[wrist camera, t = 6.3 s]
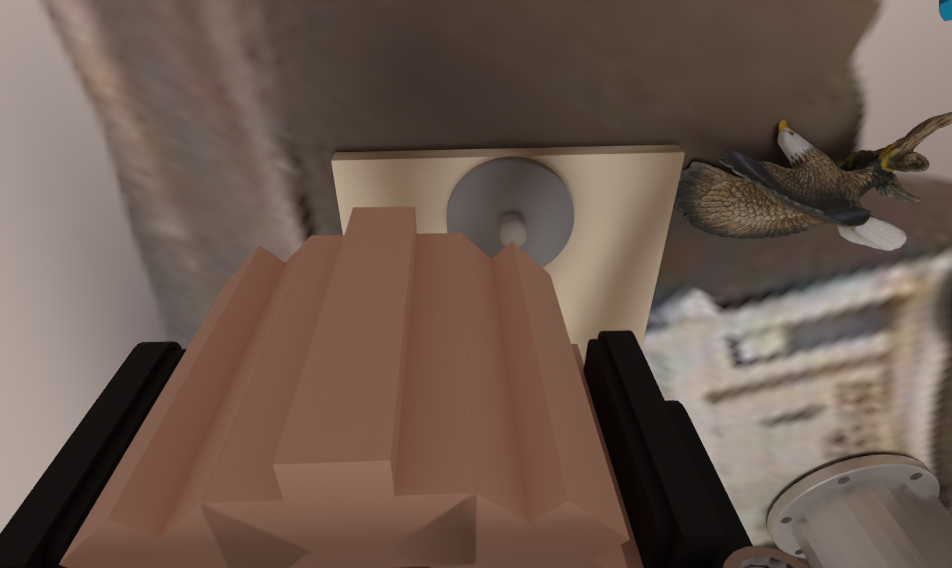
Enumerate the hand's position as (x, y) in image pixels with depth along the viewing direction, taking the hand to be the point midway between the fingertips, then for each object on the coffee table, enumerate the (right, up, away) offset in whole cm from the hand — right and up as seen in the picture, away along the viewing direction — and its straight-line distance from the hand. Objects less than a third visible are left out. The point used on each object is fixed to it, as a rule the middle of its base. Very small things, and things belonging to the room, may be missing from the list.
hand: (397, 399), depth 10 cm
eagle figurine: (+16, +8, +17) cm, 24 cm away
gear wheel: (0, 0, +1) cm, 1 cm away
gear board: (+3, 0, +21) cm, 21 cm away
